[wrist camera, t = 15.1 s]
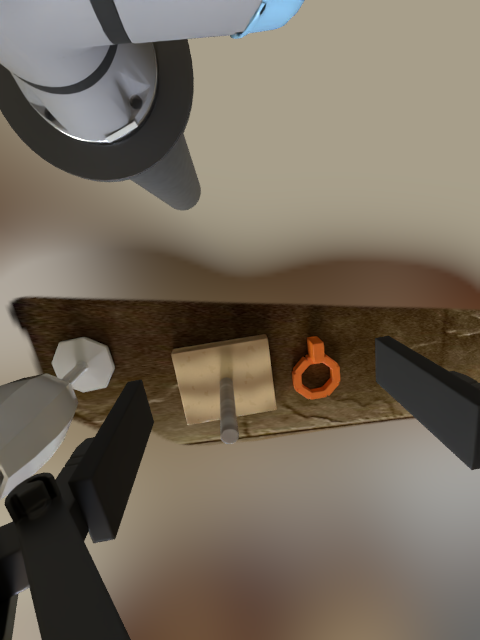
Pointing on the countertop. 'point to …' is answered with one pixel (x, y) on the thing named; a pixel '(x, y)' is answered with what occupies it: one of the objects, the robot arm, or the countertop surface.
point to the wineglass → (46, 408)
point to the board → (225, 364)
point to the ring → (314, 357)
